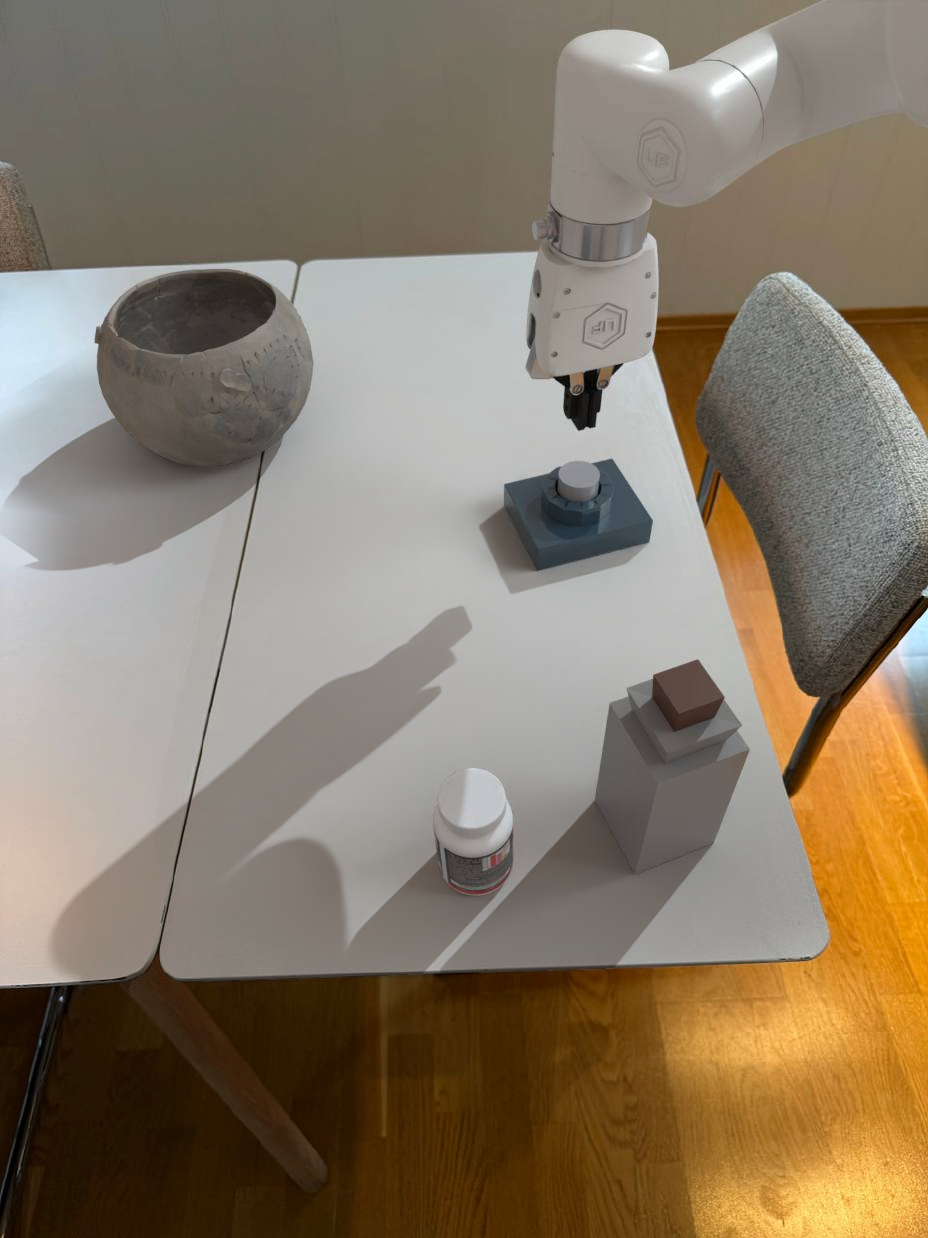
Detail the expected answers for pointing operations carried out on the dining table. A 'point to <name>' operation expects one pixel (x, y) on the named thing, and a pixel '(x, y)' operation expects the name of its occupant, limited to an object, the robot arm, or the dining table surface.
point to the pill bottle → (473, 832)
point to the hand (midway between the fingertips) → (580, 419)
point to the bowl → (204, 365)
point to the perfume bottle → (669, 765)
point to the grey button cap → (578, 481)
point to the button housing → (576, 517)
